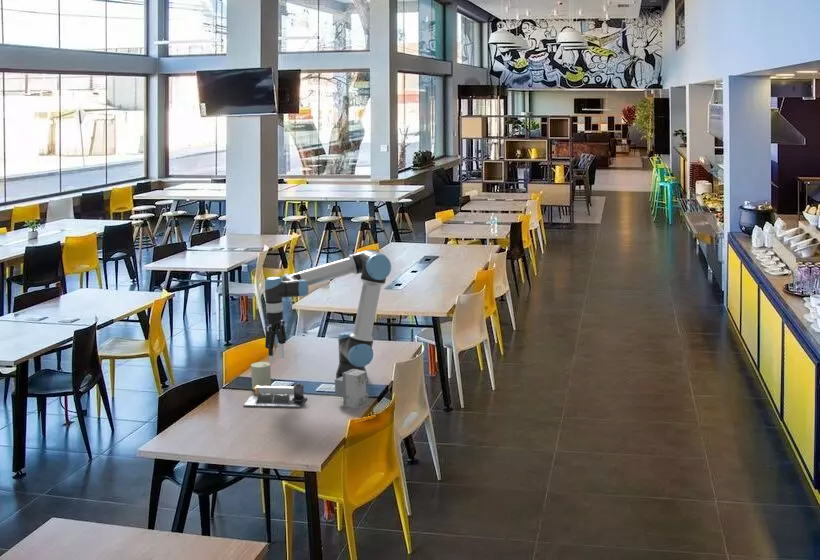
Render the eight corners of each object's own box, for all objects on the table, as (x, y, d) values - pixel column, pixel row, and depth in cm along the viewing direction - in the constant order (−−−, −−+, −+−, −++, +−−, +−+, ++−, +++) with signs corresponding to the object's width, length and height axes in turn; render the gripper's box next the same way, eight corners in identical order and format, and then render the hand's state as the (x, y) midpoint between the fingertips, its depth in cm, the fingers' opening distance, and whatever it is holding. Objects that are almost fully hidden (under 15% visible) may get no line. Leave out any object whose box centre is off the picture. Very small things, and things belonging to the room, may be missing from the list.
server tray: (306, 398, 427) (306, 392, 427) (300, 408, 415) (300, 401, 414) (251, 397, 430) (251, 391, 430) (243, 406, 418) (243, 400, 417)
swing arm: (304, 396, 427) (304, 382, 425) (302, 399, 422) (302, 385, 421) (257, 395, 429) (256, 381, 428) (255, 398, 425) (254, 384, 423)
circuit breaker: (343, 398, 427) (342, 366, 424) (368, 403, 419) (367, 371, 416) (332, 402, 421) (331, 370, 418) (358, 408, 413) (357, 375, 410)
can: (262, 392, 438) (261, 367, 435) (247, 389, 442) (246, 364, 440) (275, 386, 445) (274, 362, 443) (260, 383, 450) (259, 359, 448)
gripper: (278, 305, 435) (280, 353, 440) (255, 315, 417) (258, 365, 421) (292, 306, 433) (294, 354, 437) (270, 316, 414) (272, 366, 418)
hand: (276, 359), depth 429 cm, fingers open, 8 cm apart
